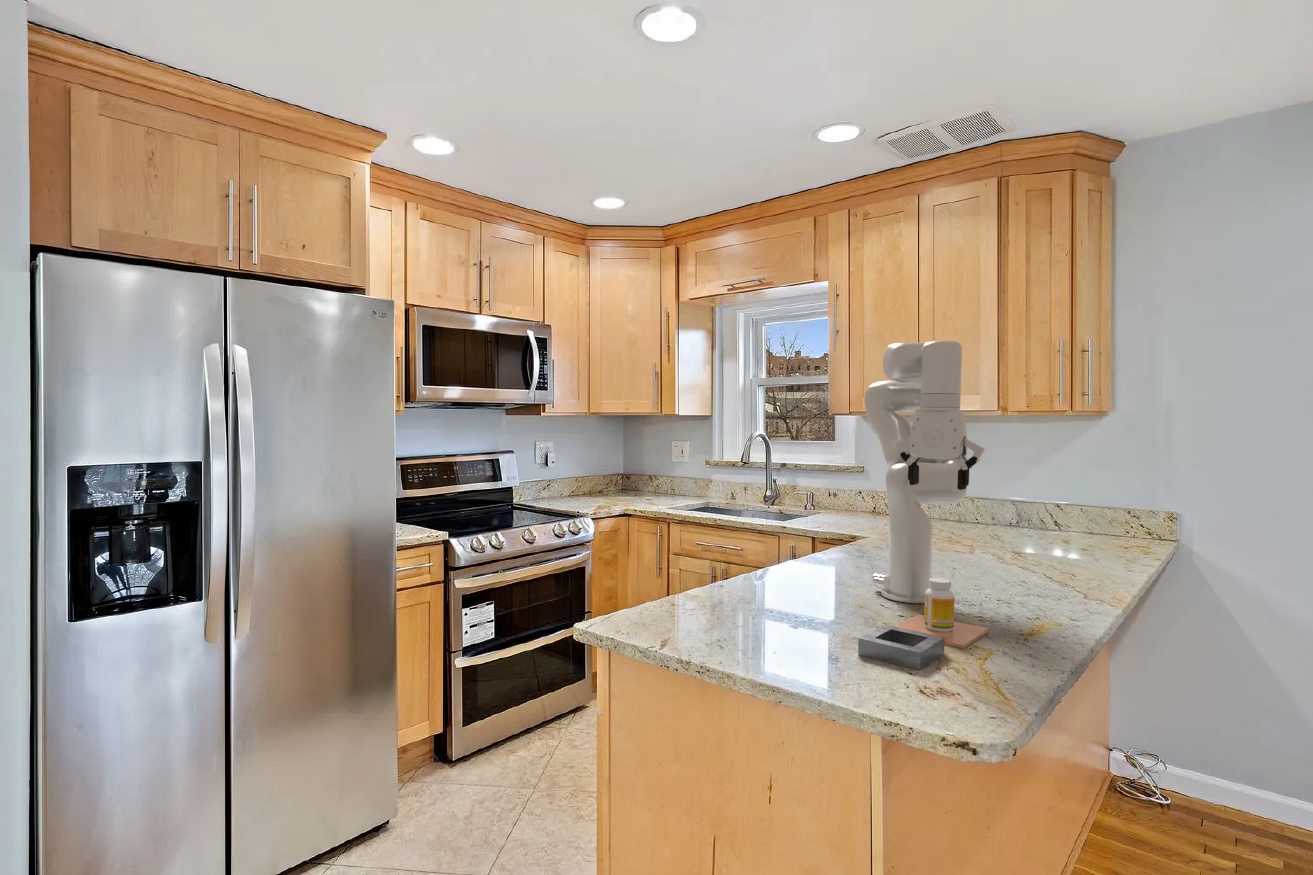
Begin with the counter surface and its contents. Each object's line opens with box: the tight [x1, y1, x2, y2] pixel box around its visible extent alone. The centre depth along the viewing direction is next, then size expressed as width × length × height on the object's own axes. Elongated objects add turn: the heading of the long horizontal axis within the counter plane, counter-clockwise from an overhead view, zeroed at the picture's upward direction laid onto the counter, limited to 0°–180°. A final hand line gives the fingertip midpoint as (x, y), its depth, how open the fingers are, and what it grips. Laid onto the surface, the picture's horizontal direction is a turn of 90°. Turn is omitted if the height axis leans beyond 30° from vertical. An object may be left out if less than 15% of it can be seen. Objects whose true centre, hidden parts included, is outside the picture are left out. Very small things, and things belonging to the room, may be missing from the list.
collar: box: [857, 624, 946, 671], centre depth 122 cm, size 11×11×3 cm
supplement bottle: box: [924, 577, 955, 632], centre depth 136 cm, size 5×5×10 cm
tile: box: [894, 614, 989, 649], centre depth 135 cm, size 14×14×1 cm
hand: (937, 486), depth 140 cm, fingers open, 9 cm apart
